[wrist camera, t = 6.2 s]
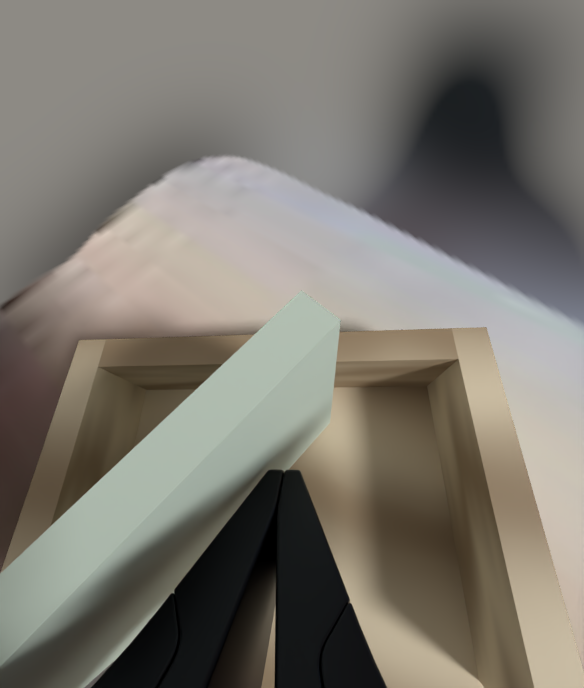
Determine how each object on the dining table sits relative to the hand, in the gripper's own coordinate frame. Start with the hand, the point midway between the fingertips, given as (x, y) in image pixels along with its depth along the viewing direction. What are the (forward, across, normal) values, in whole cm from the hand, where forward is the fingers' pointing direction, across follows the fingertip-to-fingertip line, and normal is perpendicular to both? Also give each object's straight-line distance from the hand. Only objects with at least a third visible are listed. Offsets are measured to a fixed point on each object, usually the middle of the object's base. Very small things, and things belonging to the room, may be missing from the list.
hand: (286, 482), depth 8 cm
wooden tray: (+4, +1, +5) cm, 6 cm away
